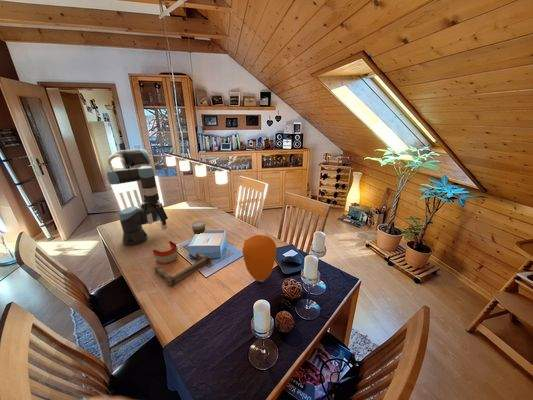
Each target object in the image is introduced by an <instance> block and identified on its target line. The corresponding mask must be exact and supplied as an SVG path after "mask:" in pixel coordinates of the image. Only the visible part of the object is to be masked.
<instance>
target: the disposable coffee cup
mask: <svg viewBox="0 0 533 400" xmlns="http://www.w3.org/2000/svg"><path fill="white" fill-rule="evenodd" d="M190 227H191V229H192V232H193V235H195V234H200V233H203V232H204V231H205V232H206V221H203V220H197V221H194V222H193V223H191V225H190Z"/></svg>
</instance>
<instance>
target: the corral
mask: <svg viewBox="0 0 533 400" xmlns="http://www.w3.org/2000/svg"><path fill="white" fill-rule="evenodd" d="M195 259H196V260H198V261H196V262H195V263H193V264H192V265H190V266H188V267H186V268H185V269H183V270H181V271H180V272H178V273H177V274H175V275H173V276H172V275H171V274H169V273H168V272H167V271H165V270H164V269H163V268H162V267H160V266H159V265H156V266H155V267H153V270H154V274H156V275H157V276H158V277H159V278H161V279H162V280H163V281H164V282H166V283H167V285H168V286H167V287H169V288H173V287H174V286H176V285H177V284H180V282H182V281H184V280H186V279H187V278H188V277H190V276H192V275H193V274H194V273H197V272H198V271H200V270H201V269H203V268H204V267H206V266H207V265H208V264H210V263H212V261H211V260H212V259H211V256H209V255H205V254H204V253H202V254H198V253H196V258H195ZM199 269H200V270H199Z"/></svg>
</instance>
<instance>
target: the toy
mask: <svg viewBox="0 0 533 400" xmlns="http://www.w3.org/2000/svg"><path fill="white" fill-rule="evenodd" d="M168 243H169V246H170V249H169V250H166V251H161V250H158V249H152V252H153V256H154V258H155V262H157V263H159V264H163V265H164V264H170V263H172V262H173V261H175V260H176V259H177V257H178V253H179V252H178V246H177V244H176V243H175V242H173V241H172V240H170V241H168Z"/></svg>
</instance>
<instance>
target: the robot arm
mask: <svg viewBox="0 0 533 400" xmlns="http://www.w3.org/2000/svg"><path fill="white" fill-rule="evenodd" d="M107 164H108V166H109V167H110V171H107V172H106V176H107V180H108V182H109V184H110V185H121V184H125V183H126V184H127V183H134V182H136V183H137V187H138V191H139V194H140V197H141V198H140V199H141V204H140V208H138V206H130V207H127V208H126V207H125V208H124V209H122V210H120V212H119V213H118V218H119V222H120V225H121V229H122V240H121V241H122V243H123V245H124V246H127V247H128V246H137V245H140V244H142V243H143V242H145V241H146V240H147V239H148V234H147V232H146V231H145V229H144V228H143V225H151V224H153V223H155V222H160V226H161V229H162V231H165V230H168V225H167V220H168V219H169V218H168V216H167V213H166V211H165V209H164V206H163V204H162V202H159V200H160V196H159V193H158V192H159V191H158V185H157V182H156V177H155V171H154V168H153V166H150V165H151V159H150V155H149V153H148V152H147V150H146V149H145V148H135V149H134V148H133V149H120V150H117V151H115V152H113V153H112V154H110V155H109V157H108V159H107ZM127 167H130V168H127Z"/></svg>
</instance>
